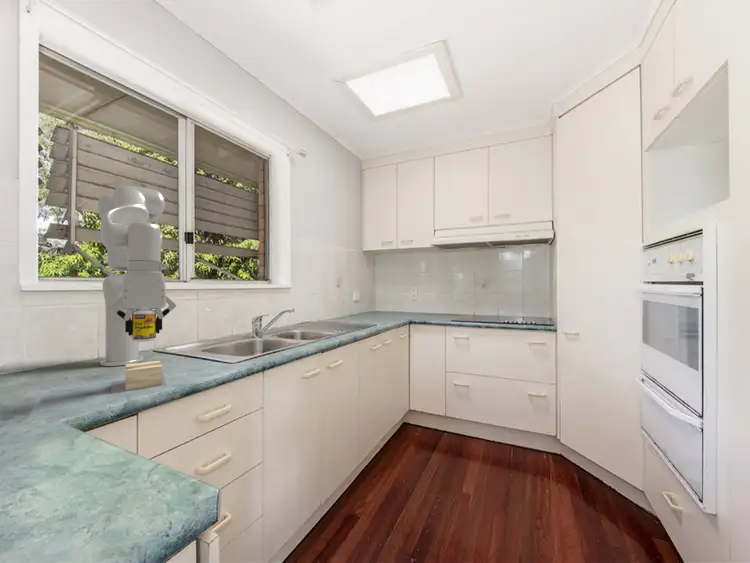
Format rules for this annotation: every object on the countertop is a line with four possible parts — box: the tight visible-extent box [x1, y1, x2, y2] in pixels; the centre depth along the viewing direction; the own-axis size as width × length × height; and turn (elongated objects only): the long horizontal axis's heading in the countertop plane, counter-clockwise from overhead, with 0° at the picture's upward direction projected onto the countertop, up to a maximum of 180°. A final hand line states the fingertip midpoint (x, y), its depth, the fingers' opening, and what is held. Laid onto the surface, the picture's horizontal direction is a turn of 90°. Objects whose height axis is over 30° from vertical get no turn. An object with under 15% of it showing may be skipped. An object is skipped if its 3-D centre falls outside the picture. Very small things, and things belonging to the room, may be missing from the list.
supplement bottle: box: [132, 307, 157, 343], centre depth 92 cm, size 6×6×10 cm
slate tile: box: [110, 374, 167, 394], centre depth 93 cm, size 12×12×1 cm
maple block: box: [125, 360, 163, 390], centre depth 92 cm, size 8×8×5 cm
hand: (144, 333), depth 92 cm, fingers closed on supplement bottle, 5 cm apart
